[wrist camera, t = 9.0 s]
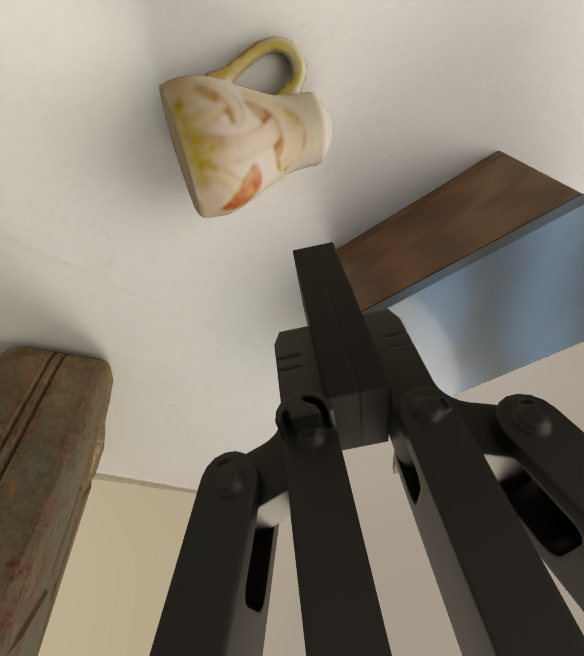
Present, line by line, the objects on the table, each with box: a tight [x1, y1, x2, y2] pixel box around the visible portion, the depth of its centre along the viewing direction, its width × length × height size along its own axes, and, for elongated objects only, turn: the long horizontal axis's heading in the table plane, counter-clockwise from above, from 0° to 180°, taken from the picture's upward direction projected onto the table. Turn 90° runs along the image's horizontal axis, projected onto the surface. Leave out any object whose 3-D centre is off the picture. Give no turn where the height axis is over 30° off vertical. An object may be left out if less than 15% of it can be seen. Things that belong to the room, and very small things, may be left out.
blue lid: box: [362, 194, 584, 397], centre depth 25 cm, size 15×14×1 cm
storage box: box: [336, 151, 582, 312], centre depth 28 cm, size 14×14×8 cm
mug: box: [159, 36, 332, 218], centre depth 20 cm, size 8×10×10 cm
